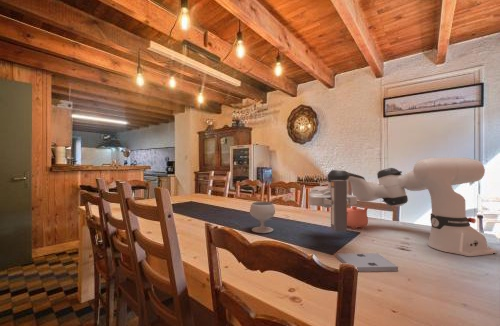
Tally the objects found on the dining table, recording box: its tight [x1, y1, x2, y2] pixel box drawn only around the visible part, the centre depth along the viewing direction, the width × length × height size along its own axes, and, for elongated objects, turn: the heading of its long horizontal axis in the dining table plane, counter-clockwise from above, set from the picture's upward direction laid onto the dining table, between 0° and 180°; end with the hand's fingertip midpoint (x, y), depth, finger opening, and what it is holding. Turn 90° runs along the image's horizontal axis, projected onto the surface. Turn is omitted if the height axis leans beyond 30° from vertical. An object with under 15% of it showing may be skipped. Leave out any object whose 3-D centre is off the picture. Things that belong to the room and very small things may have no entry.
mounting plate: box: [336, 252, 399, 273], centre depth 83 cm, size 16×12×2 cm
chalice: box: [249, 201, 276, 234], centre depth 126 cm, size 14×14×15 cm
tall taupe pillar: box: [330, 180, 348, 232], centre depth 93 cm, size 5×5×20 cm
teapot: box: [347, 205, 370, 230], centre depth 133 cm, size 20×12×12 cm, turn 109°
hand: (339, 202), depth 92 cm, fingers closed on tall taupe pillar, 5 cm apart
